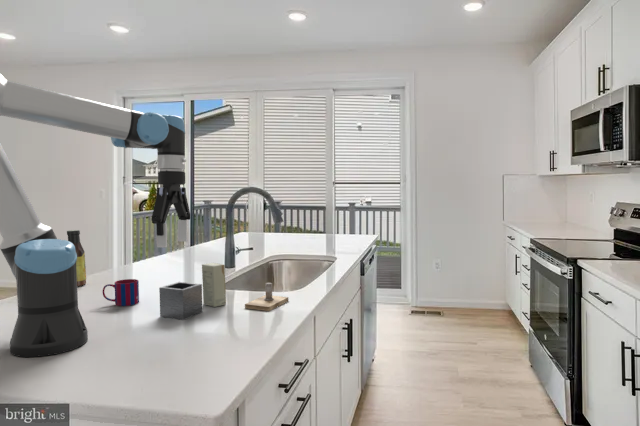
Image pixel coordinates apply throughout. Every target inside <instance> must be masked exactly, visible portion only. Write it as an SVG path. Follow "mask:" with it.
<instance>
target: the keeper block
mask: <svg viewBox="0 0 640 426" xmlns="http://www.w3.org/2000/svg"><path fill="white" fill-rule="evenodd" d="M264 289H265V295H263V296H260V297H258V298H256V299H253V300H251V301H248V302H247V303H245V304H244V308H245V309H249V310H256V311H263V312H264V311H265V312H266V311H267V312H271V311H272V310H274V309H276V308H278V307H279V306H282V305H283V304H286V303H288V302H289V297H288V296H280V295H279V296H278V295H273V282H265V287H264Z"/></svg>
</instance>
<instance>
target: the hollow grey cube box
mask: <svg viewBox="0 0 640 426" xmlns="http://www.w3.org/2000/svg"><path fill="white" fill-rule="evenodd" d="M158 290H159V316H160V317H163V318H169V319H176V320H182V321H183V320H186V319H187V320H188V319H189V318H192V317H193V316H197V315H198V314H201V313H203V283H194V282H183V281H178V282H174V283H170V284H168V285H163V286H160V287H159V289H158Z"/></svg>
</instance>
